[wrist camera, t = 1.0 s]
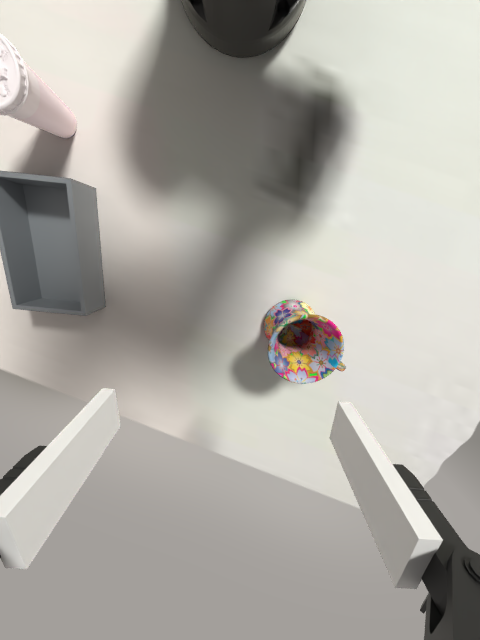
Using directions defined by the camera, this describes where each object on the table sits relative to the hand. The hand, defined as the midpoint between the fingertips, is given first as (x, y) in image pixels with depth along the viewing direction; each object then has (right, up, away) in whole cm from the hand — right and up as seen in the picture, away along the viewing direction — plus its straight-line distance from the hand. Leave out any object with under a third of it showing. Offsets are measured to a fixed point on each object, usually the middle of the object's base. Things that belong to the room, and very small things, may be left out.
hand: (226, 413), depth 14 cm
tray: (-25, +16, +21) cm, 37 cm away
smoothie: (-22, +31, +16) cm, 42 cm away
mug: (+10, +4, +25) cm, 27 cm away
